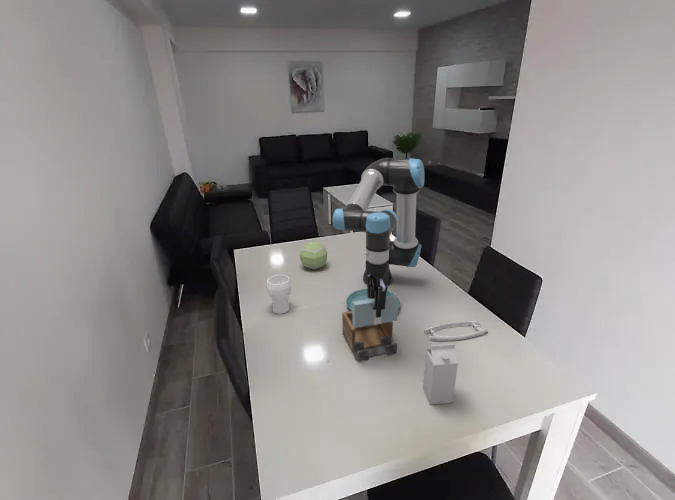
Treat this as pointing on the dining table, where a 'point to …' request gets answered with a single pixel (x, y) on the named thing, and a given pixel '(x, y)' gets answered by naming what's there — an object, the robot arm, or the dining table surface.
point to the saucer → (361, 297)
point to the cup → (279, 292)
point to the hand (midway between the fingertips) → (375, 321)
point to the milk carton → (440, 373)
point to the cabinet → (368, 338)
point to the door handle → (453, 338)
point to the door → (365, 310)
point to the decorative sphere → (313, 255)
